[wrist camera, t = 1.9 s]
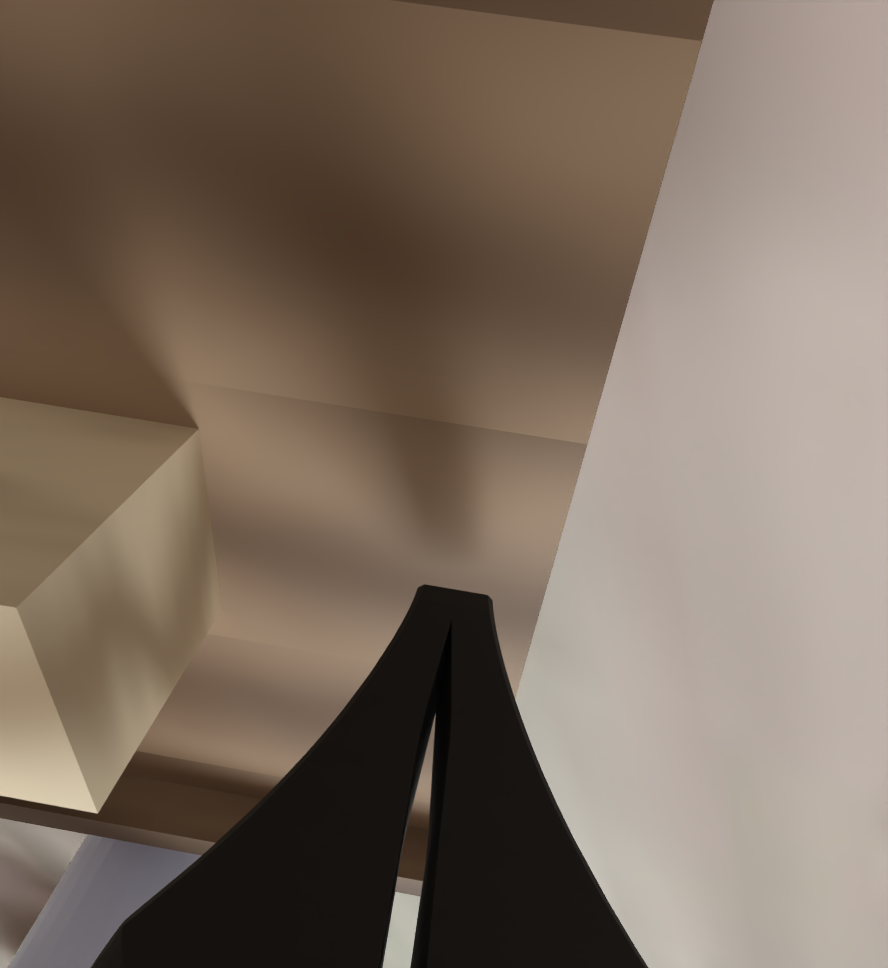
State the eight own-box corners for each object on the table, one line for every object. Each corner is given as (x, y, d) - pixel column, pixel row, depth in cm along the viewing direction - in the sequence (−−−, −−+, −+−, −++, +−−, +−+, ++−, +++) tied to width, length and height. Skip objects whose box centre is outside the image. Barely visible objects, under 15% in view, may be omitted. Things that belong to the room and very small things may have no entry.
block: (221, 608, 14) (97, 813, 10) (25, 575, 15) (-176, 762, 10) (199, 428, 12) (16, 607, 7) (-42, 390, 12) (-352, 544, 8)
